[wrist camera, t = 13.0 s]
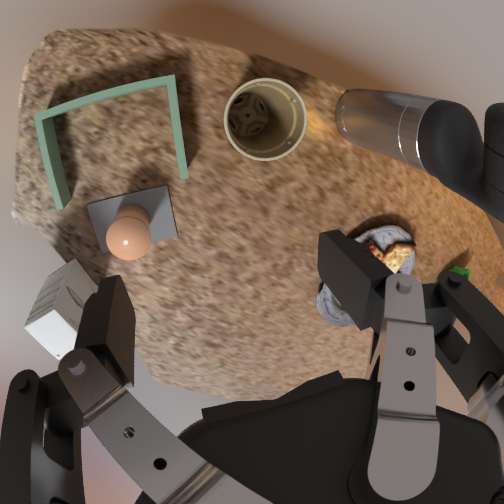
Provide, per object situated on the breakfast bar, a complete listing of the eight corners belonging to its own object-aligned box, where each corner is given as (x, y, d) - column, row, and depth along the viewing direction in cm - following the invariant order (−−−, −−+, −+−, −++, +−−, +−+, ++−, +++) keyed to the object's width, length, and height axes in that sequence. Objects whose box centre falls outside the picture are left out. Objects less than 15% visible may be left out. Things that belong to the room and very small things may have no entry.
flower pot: (239, 68, 33) (259, 61, 25) (292, 108, 37) (322, 112, 30) (198, 124, 35) (206, 130, 28) (254, 160, 40) (274, 176, 33)
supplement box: (102, 289, 43) (91, 346, 33) (72, 306, 43) (57, 362, 32) (76, 255, 39) (54, 308, 28) (45, 275, 39) (22, 328, 28)
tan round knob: (147, 197, 38) (145, 213, 33) (155, 235, 41) (155, 255, 36) (108, 206, 37) (100, 223, 32) (118, 243, 40) (113, 264, 35)
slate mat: (167, 185, 38) (166, 185, 38) (177, 236, 42) (177, 237, 42) (86, 204, 36) (86, 205, 36) (102, 253, 40) (102, 253, 40)
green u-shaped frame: (174, 77, 31) (174, 74, 28) (186, 170, 38) (188, 178, 35) (45, 112, 28) (33, 115, 24) (65, 200, 35) (57, 210, 31)
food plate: (354, 207, 48) (365, 216, 45) (424, 234, 57) (434, 241, 55) (297, 317, 59) (304, 329, 56) (372, 319, 68) (379, 329, 65)
